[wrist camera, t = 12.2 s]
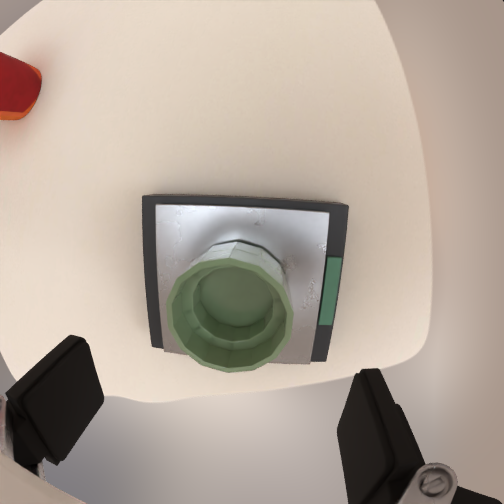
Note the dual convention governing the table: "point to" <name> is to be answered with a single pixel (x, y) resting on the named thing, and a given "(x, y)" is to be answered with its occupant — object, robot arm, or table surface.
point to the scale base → (336, 210)
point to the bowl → (231, 308)
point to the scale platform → (255, 234)
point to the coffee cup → (17, 87)
